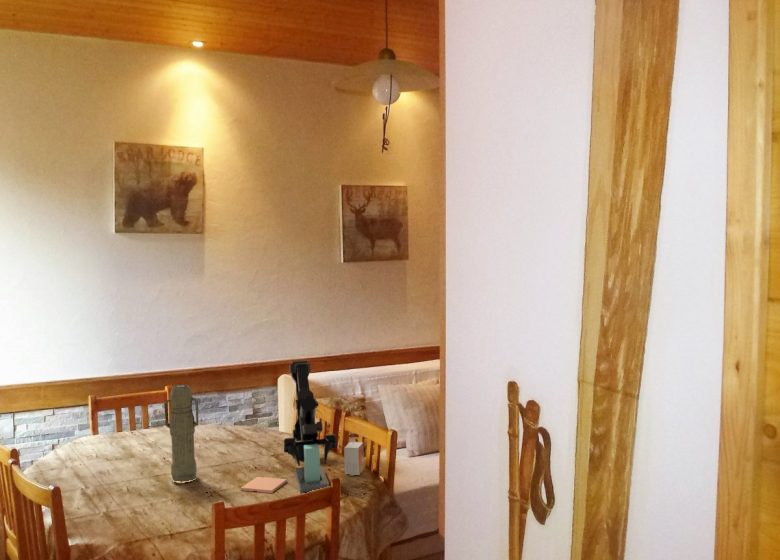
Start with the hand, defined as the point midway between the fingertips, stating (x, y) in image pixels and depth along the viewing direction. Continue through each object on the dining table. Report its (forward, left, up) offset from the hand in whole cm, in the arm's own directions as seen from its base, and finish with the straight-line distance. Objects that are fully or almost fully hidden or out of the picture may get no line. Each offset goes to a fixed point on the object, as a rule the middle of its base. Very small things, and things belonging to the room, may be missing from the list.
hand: (312, 464), depth 248 cm
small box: (+1, +20, -8) cm, 22 cm away
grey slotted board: (-4, +3, -8) cm, 9 cm away
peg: (-1, +1, -8) cm, 8 cm away
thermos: (-43, -25, -8) cm, 51 cm away
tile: (-14, -11, -8) cm, 19 cm away
